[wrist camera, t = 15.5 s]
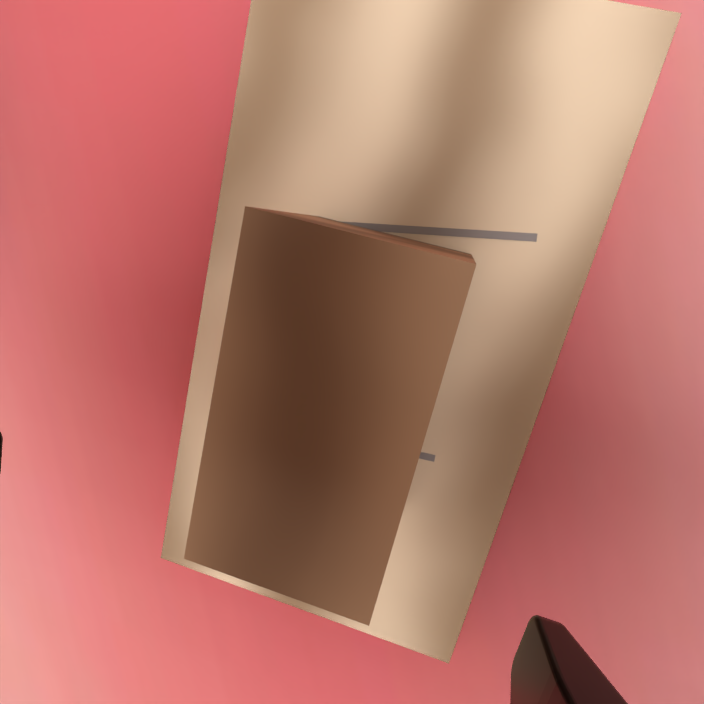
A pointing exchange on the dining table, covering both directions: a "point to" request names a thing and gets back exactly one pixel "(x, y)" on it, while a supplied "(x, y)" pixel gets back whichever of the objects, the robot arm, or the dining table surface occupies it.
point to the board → (437, 227)
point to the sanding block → (322, 404)
